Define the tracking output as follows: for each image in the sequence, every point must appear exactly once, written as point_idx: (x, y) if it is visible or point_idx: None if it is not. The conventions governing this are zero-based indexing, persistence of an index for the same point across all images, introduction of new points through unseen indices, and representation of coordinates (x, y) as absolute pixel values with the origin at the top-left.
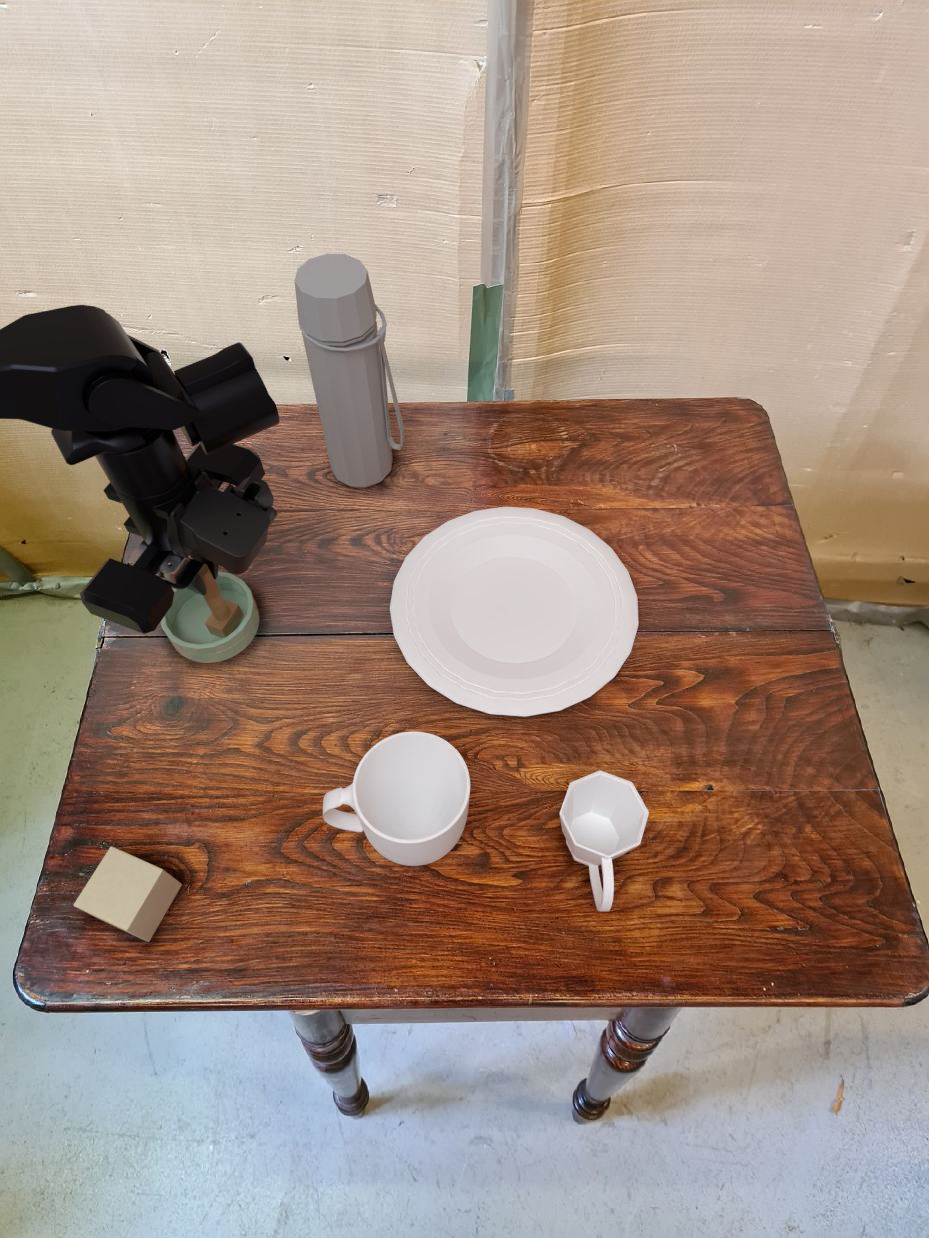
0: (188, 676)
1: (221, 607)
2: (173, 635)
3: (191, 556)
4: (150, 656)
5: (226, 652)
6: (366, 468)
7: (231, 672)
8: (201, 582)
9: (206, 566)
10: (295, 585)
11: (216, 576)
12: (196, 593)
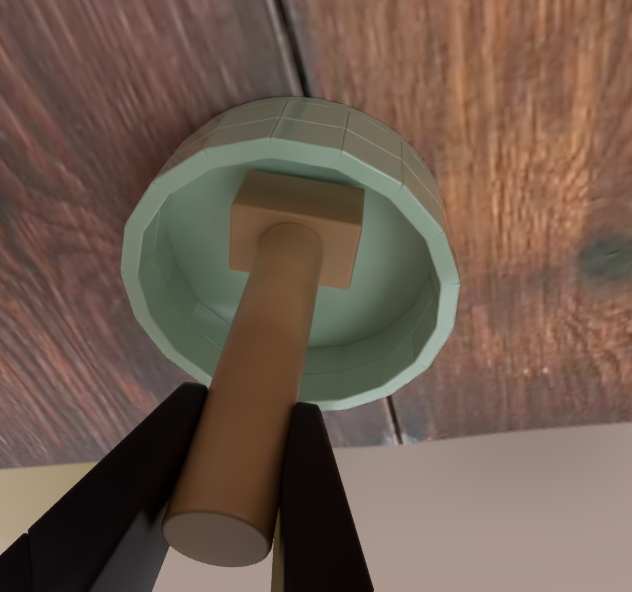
0: (502, 255)
1: (294, 274)
2: (414, 360)
3: (153, 582)
4: (443, 361)
5: (420, 174)
6: None
7: (476, 127)
8: (300, 520)
9: (176, 519)
10: (40, 18)
11: (190, 394)
12: (223, 323)
